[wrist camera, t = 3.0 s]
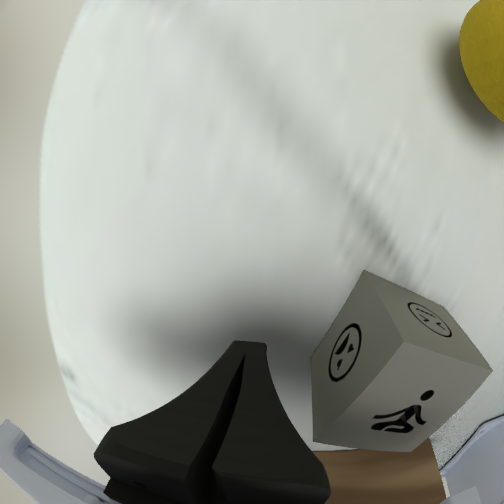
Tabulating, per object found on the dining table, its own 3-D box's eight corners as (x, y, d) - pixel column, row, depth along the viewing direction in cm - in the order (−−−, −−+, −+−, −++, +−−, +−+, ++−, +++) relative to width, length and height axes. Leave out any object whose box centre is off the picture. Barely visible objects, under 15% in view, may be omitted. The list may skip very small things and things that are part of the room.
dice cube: (310, 356, 12) (312, 441, 8) (363, 269, 11) (403, 341, 6) (388, 379, 12) (410, 452, 8) (442, 305, 11) (492, 370, 6)
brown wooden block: (421, 448, 14) (437, 514, 8) (250, 457, 16) (235, 535, 10) (429, 438, 14) (448, 507, 7) (250, 448, 16) (234, 531, 9)
